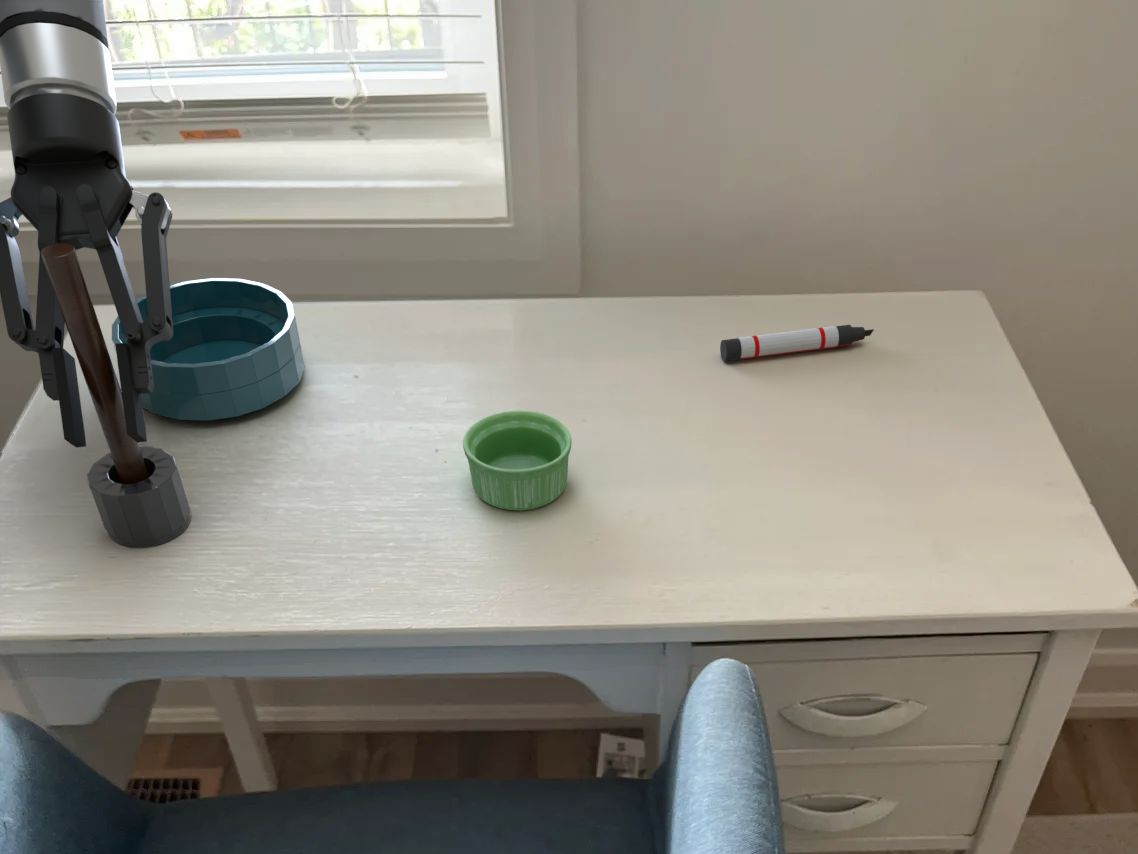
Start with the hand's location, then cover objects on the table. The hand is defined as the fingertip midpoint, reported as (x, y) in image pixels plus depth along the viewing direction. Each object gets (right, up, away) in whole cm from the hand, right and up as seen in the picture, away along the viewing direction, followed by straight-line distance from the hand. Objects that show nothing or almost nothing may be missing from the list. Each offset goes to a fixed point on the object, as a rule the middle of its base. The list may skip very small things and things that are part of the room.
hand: (106, 439), depth 88 cm
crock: (-1, -4, +10) cm, 11 cm away
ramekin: (+30, 0, +14) cm, 33 cm away
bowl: (+1, +13, +25) cm, 28 cm away
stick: (-1, -3, +10) cm, 10 cm away
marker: (+56, +17, +28) cm, 65 cm away
